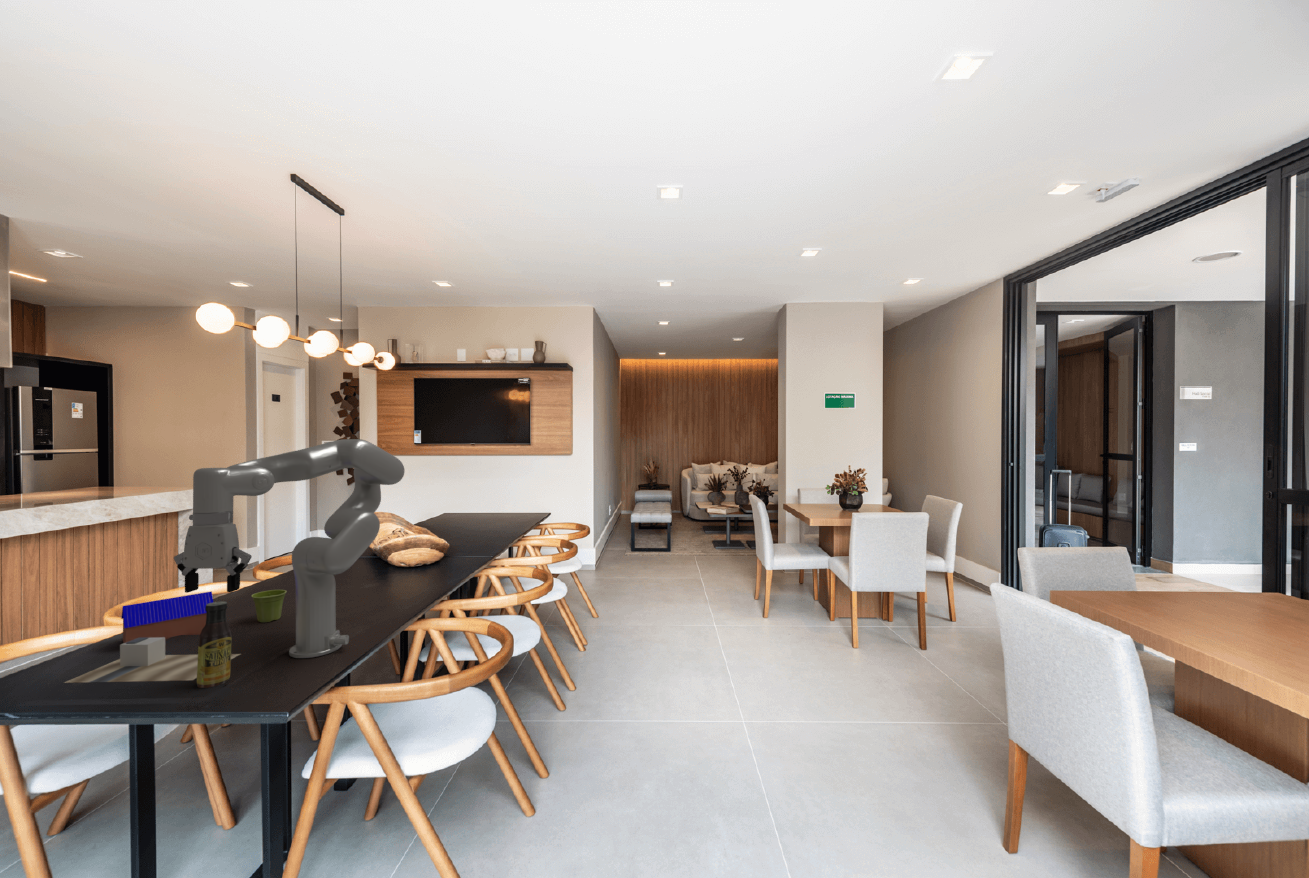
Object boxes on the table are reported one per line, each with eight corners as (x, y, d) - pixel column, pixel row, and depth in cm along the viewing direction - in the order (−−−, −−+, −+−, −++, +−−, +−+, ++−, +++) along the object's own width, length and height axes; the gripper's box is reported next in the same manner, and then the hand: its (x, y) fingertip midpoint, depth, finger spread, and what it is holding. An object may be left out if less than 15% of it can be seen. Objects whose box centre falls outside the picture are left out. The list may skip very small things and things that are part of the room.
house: (121, 641, 159) (121, 601, 159) (208, 623, 174) (208, 587, 174) (124, 651, 151) (124, 610, 151) (215, 632, 166) (215, 594, 166)
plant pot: (258, 616, 180) (258, 590, 180) (290, 613, 183) (290, 588, 183) (246, 625, 171) (246, 598, 171) (280, 622, 174) (280, 595, 174)
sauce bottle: (203, 695, 124) (203, 609, 124) (191, 689, 127) (191, 605, 127) (236, 684, 130) (236, 602, 130) (224, 678, 133) (224, 598, 133)
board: (241, 658, 145) (241, 653, 145) (192, 685, 129) (192, 680, 129) (127, 660, 144) (127, 655, 144) (63, 687, 128) (63, 682, 128)
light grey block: (165, 658, 143) (165, 636, 143) (147, 665, 138) (147, 643, 138) (138, 658, 143) (138, 636, 143) (120, 666, 138) (120, 643, 138)
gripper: (162, 521, 125) (161, 595, 124) (238, 521, 125) (237, 595, 125) (189, 517, 132) (188, 587, 132) (261, 517, 133) (260, 586, 132)
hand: (212, 590), depth 128 cm, fingers open, 9 cm apart
